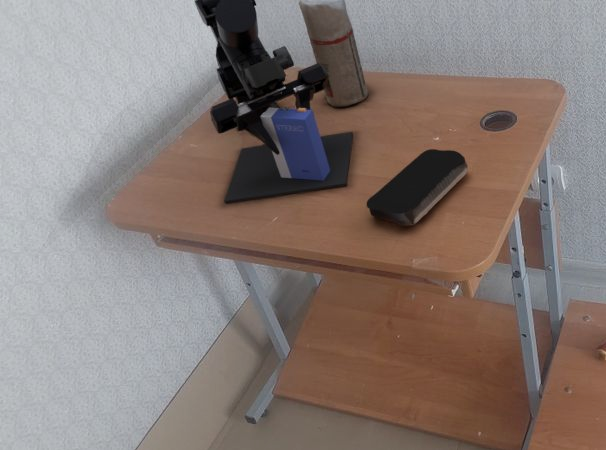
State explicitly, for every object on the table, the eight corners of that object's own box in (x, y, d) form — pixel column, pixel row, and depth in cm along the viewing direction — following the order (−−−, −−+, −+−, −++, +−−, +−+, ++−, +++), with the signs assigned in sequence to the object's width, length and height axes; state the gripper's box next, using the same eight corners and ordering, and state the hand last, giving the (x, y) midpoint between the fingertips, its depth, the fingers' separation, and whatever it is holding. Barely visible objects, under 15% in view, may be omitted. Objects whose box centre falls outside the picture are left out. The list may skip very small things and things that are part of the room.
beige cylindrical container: (326, 90, 136) (297, -9, 124) (368, 82, 136) (342, -18, 124) (326, 112, 130) (294, 10, 117) (369, 104, 130) (342, 1, 117)
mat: (242, 151, 124) (241, 148, 124) (353, 134, 123) (352, 131, 122) (225, 203, 113) (223, 201, 112) (346, 186, 111) (345, 183, 111)
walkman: (330, 170, 114) (312, 107, 106) (323, 181, 112) (304, 117, 105) (288, 167, 117) (267, 105, 109) (280, 177, 115) (258, 114, 107)
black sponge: (410, 237, 100) (405, 217, 97) (366, 220, 104) (360, 200, 102) (474, 173, 109) (471, 154, 106) (431, 160, 113) (427, 141, 111)
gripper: (187, 59, 99) (239, 156, 98) (307, 14, 105) (356, 105, 104) (193, 88, 109) (240, 176, 109) (302, 45, 115) (346, 128, 115)
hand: (296, 146), depth 109 cm, fingers closed on walkman, 6 cm apart
